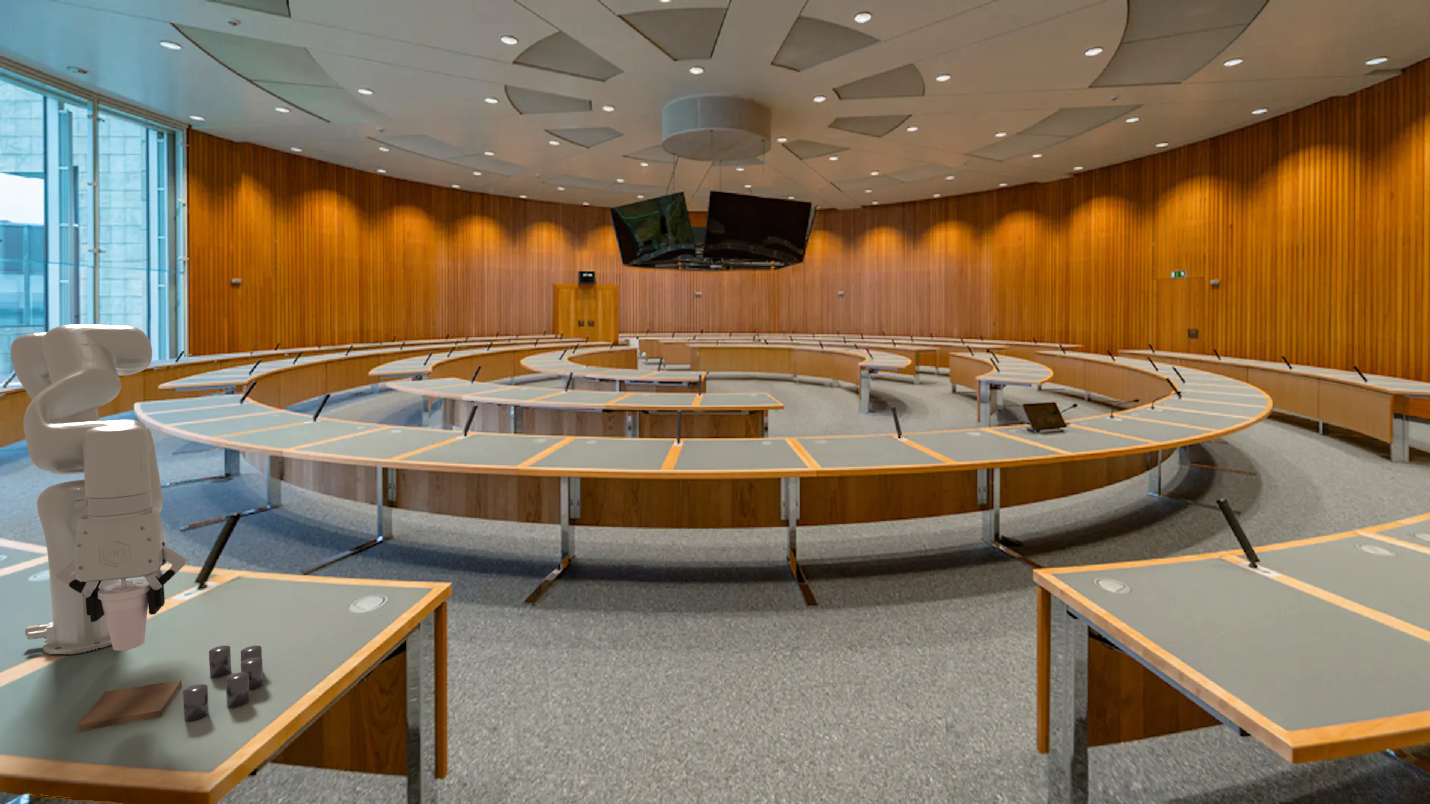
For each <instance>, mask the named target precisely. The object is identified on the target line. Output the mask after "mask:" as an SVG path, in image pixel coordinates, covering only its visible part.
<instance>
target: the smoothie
mask: <svg viewBox="0 0 1430 804" xmlns="http://www.w3.org/2000/svg"><path fill="white" fill-rule="evenodd" d="M126 579H127V578H125V579H120V582H119V583H115V584H111V585H108V586H106V587H103V588H101V589H100V590H99V591H98V599H100V600H101V602H102V606H103V610H104V614H105V618H106V622H107V626H108V630H109V634H110V638H111V642H112V645H111V646H112V650H114V651H117V652H118V651H121V652H122V651H128V650H132V649H136V648H138V647H141V646H142V645H143V644H144V643H145V637H146V629H147V620H148V619H147V618H148V612H149V607H148V591H149V590H150V589H151V586H150V584H149V583H148V582H147V580H146V579H130V580H126Z"/></svg>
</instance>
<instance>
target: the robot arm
mask: <svg viewBox="0 0 1430 804" xmlns="http://www.w3.org/2000/svg"><path fill="white" fill-rule="evenodd" d="M10 359H11V364H12V366H13V370H14V373H15V375H16V377H17V380H18V381H19V383H20V384H21V386H22V387H23V389H24V390H25V392H26V394H27V395H28V397H29V398H30V399H31V401H30V403H29V404H28V406H27V407H26V410H25V412H24V416H23V422H22V423H23V424H22V425H23V433H24V437H25V441H26V446H27V447H26V448H27V450H28V455H29V457H30V460H31V461H32V463H33V464H34V465H35V466H36V467H37V468H38V469H40V470H43V471H47V472H49V473H52V474H53V475H54V474H55V475H63V476H65V475H66V476H67V475H84V479H78V480H68V481H64V482H60V483H55V484H54V485H53V484H52V485H51V486H48V487H46V488H44V490H42V491H41V492H40V494H39V495H38V497H37V501H36V510H37V514H38V517H39V521H40V524H41V526H42V527H41V528H42V531H43V535H44V539H45V544H46V545H45V546H46V551H47V560H48V561H47V562H48V571H49V586H50V599H51V600H50V602H51V613H52V615H51V616H52V621H50V622H49V623H46V624H36V625H34V624H33V625H27V626H26V628H25V630H24V635H25V637H26V638H27V640H28V641H29V640H37V639H41V638H43V639H45V641H44V642H43V644H42V651H43V652H44V653H45V654H47V655H51V654H64V655H63V656H66V655H67V654H69V655H74V654H77V655H78V654H82V653H87V651H88V652H92V651H96V650H99V649H98V648H100V649H103V648H106V647H109V646H112V642H111V638H110V634H109V630H108V626H107V622H106V618H105V614H104V610H103V606H102V602H101V600H100V599H98V591H99V590H100V589H101V588H103V587H106V586H108V585H111V584H115V583H119V582H121V579H125V578H126V579H134V578H141V577H142V578H143V577H144V580H147V582H148V583H149V584H150V586H151V589H150V590H149V591H148V614H149V615H151V616H152V615H153V616H154V615H156V614H157V613H158V612H159V611H160V610H161V608H162V607H163V606H165V602H166V599H165V598H166V597H165V584H167V582H169V581H170V580H171V579H172V578H173V577H174V576H175V575H176V574H177V573H178V572H179V571H180V570H181V569H183V567H184V566H186V564H188V559H187V558H186V557H184V556H182V555H180V554H179V553H177V552H176V551H174V550H172V549H170V548H168V546H167V542H166V541H167V539H166V535H165V529H164V525H163V522H162V519H161V515H160V513H161V511H162V509H163V502H164V501H163V490H162V483H161V477H160V472H159V471H160V470H159V464H158V459H157V453H156V448H155V442H154V438H153V436H152V431H151V430H150V428H149V427H147V426H146V425H145V424H144V423H143V422H142V421H140V420H136V419H129V418H128V419H127V418H126V419H125V418H124V419H107V420H101V419H100V416H99V408H100V407H103V406H105V405H107V404H109V403H111V402H112V401H113V400H115V399H116V398H117V397H118V395H119V394H120V392H121V390H122V381H121V378H120V376H121V377H122V376H123V377H124V376H132V375H135V374H138V373H141V372H143V371H144V370H146V369H147V368H148V367H149V366H150V365H151V363H152V359H153V348H152V343H151V341H150V339H149V338H148V335H147V334H146V333H145V332H144V331H143V330H142V329H140V328H139V327H136V326H130V325H119V324H118V325H117V324H116V325H115V324H114V325H112V324H111V325H109V324H64V325H59V326H56V327H53V328H51V329H50V330H47V331H46V332H45V331H43V332H32V333H28V334H27V333H26V334H23V335H19V336H18V337H16V338H15V339H13V341H12V343H11V345H10ZM167 562H168V563H170V564H171V567H169V568H168V569H167V570H166V571H165V572H163V571H162V570H161V568H162V566H164V565H167ZM95 649H96V650H95ZM91 650H92V651H91ZM65 654H66V655H65ZM67 656H68V655H67Z"/></svg>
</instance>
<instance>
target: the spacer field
mask: <svg viewBox="0 0 1430 804" xmlns="http://www.w3.org/2000/svg"><path fill="white" fill-rule="evenodd" d="M262 653H263V651H262V646H261V645H250V646H246V647H244V648H242V649H241V650H240V671H239V672H236V673H233V674H231V673H232V659H231V657H232V655H231V654H232V653H231V646H230V645H219V646H215V647H213V648H211V649H209V651H208V656H209V657H208V660H209V661H208V662H209V663H208V664H209V665H208V666H209V677H210V679H219V678H224V677H226V678H225V692H226V694H225V695H226V707H227V708H229V709H235V708H236V709H237V708H241V707H243V706H246V705H247V704H248V703H250V700H251V699H250V692H251V691H255V690H258V689H260V688H262V687H263V686H264V673H263V672H264V670H263V669H264V668H263V656H262V655H263V654H262ZM228 675H229V676H228ZM208 693H209V692H208V684H205V683H200V684H199V683H198V684H195V685H191V686H189V687H187V688H185V689H184V690H183V691H182V696H183V697H182V698H183V714H184V715H183V718H184V721H185V722H187V723H192V722H197V721H200V720H201V721H202V720H203V719H204V718H206V717H208V715H209V713H210V711H209V694H208Z"/></svg>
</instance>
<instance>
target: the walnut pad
mask: <svg viewBox="0 0 1430 804" xmlns="http://www.w3.org/2000/svg"><path fill="white" fill-rule="evenodd" d="M182 682H183V681H182V679H177V680H171V681H169V680H168V681H163V682H156V683H151V684H145V685H137V686H131V687H126V688H120V689H113V690H106V691H104V692H103V694H102V695H101V696H100V697H99V698H98V699H97V700H96V702H95V703H94V704H93V705H92V706H91V708H90V709H89V710H88V711H87V712H86V714H85V715H84V716H83V717H82V718H81V719H80V720H79V722H78V723H77V724H76V732H80V731H79V730H81V731H87V730H92V729H97V728H103V727H104V728H105V727H108V726H114V725H115V726H116V725H121V724H126V723H132V722H137V721H144V720H149V719H155V718H161V717H162V716H163V714H164V713H165V711H166V710H167V708H168V707H169V705H170V704H171V702H172V701H173V699H174V698H175V696H176V694H177V693H178V691H179V690H180V688H182V687H181V686H182V684H183V683H182Z"/></svg>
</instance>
